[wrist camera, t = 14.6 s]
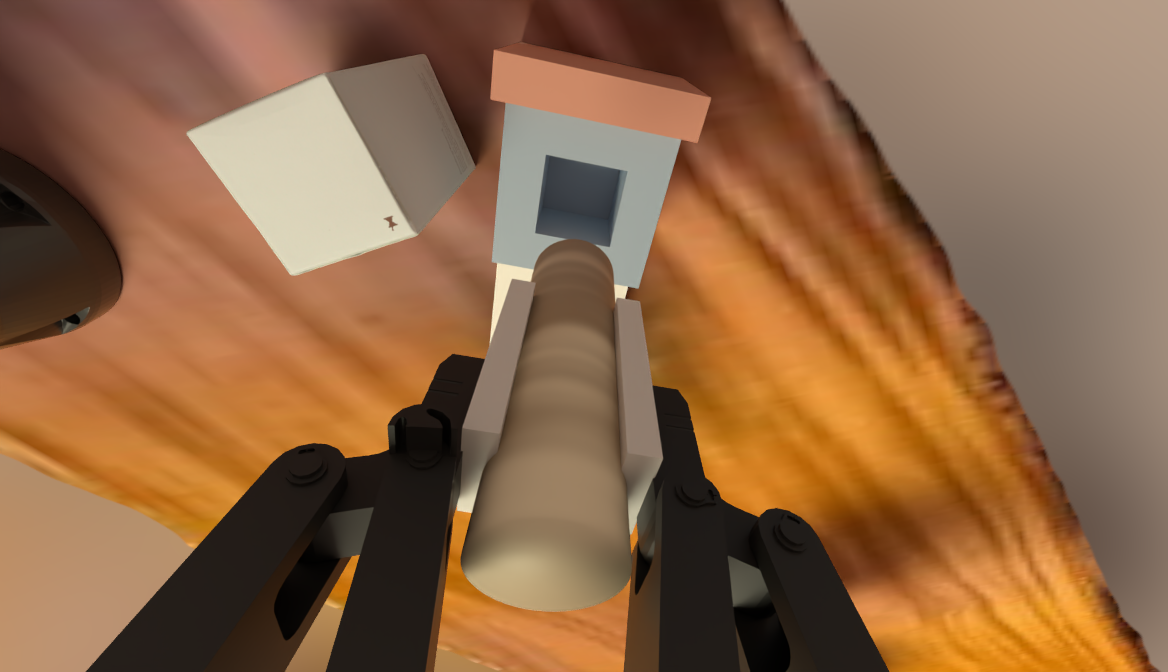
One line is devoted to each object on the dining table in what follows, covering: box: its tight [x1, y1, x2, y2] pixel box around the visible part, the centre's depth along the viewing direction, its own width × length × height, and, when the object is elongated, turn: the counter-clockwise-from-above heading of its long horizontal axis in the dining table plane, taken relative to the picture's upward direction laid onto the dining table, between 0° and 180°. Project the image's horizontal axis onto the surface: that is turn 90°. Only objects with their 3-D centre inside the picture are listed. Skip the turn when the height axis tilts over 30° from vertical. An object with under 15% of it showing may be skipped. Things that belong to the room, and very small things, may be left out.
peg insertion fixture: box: [490, 42, 711, 343], centre depth 31 cm, size 10×22×9 cm, turn 169°
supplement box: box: [187, 54, 476, 275], centre depth 26 cm, size 7×7×13 cm
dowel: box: [461, 239, 632, 612], centre depth 14 cm, size 3×3×12 cm
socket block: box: [492, 103, 681, 288], centre depth 28 cm, size 9×9×6 cm
